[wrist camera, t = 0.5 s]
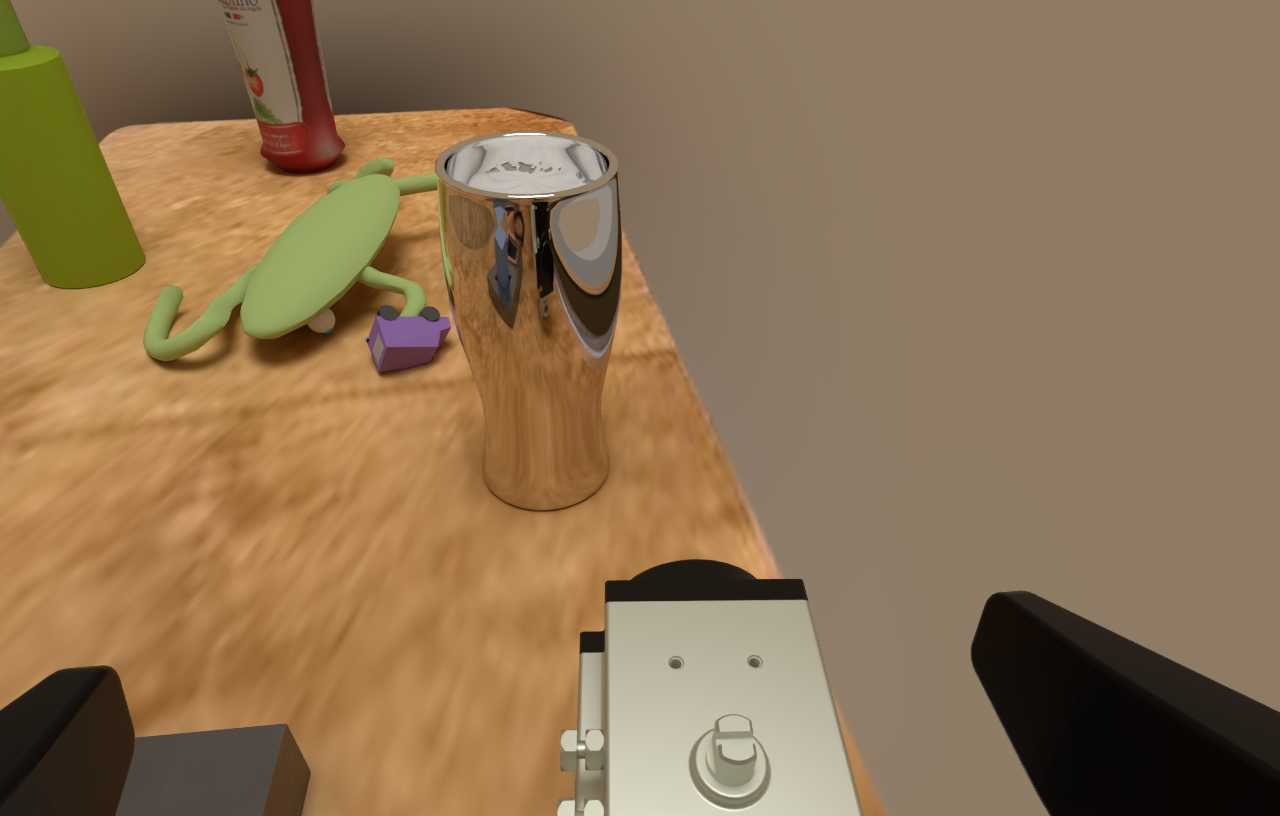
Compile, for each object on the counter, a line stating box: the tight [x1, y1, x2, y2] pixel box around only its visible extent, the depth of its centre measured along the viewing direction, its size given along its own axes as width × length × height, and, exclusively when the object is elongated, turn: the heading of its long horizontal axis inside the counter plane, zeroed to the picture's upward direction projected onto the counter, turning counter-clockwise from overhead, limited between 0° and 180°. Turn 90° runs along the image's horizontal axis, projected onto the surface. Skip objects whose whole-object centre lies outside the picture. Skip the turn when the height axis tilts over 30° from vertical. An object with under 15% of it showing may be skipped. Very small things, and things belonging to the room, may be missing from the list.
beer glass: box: [435, 131, 622, 510], centre depth 32 cm, size 7×7×15 cm
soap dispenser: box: [0, 0, 145, 289], centre depth 44 cm, size 6×7×20 cm
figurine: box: [143, 158, 451, 372], centre depth 49 cm, size 18×27×6 cm
